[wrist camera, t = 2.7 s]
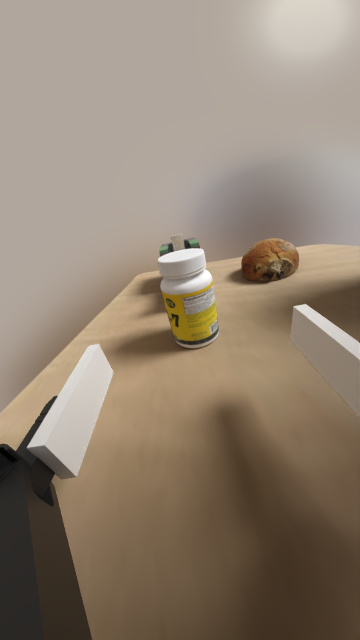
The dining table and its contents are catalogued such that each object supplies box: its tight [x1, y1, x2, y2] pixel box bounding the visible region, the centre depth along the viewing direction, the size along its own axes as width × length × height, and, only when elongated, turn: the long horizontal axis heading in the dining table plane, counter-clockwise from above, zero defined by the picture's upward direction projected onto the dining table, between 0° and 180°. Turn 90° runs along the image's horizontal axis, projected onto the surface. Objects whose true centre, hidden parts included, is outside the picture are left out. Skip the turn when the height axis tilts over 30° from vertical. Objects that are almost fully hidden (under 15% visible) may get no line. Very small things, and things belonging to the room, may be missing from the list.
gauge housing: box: [160, 238, 200, 257], centre depth 43 cm, size 10×8×8 cm
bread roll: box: [242, 238, 299, 281], centre depth 37 cm, size 10×10×8 cm
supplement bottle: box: [158, 248, 219, 348], centre depth 23 cm, size 6×6×10 cm
